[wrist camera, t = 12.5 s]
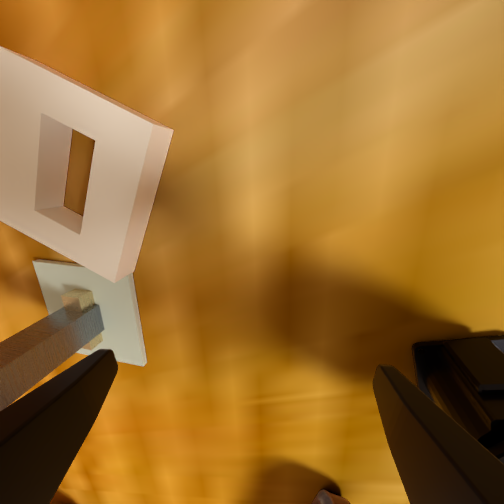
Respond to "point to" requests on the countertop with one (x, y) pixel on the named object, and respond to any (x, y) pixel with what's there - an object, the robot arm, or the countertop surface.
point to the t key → (48, 344)
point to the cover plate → (57, 158)
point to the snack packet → (329, 498)
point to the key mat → (107, 297)
